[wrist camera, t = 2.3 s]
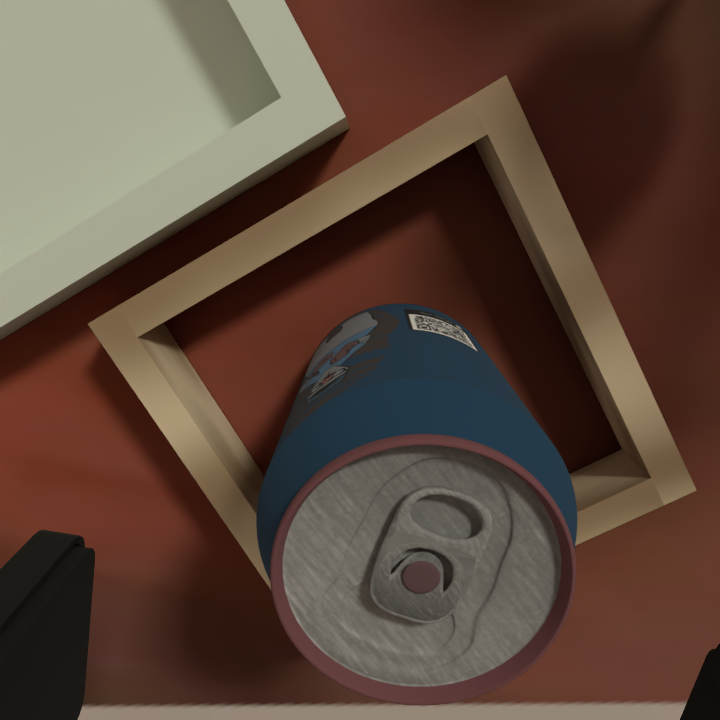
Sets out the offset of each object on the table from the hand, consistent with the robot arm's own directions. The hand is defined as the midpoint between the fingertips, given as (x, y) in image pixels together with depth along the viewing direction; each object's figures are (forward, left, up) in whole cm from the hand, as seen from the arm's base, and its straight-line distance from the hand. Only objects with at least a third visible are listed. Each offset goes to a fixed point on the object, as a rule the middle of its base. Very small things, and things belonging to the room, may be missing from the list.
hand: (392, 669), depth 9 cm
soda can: (0, -1, -14) cm, 14 cm away
